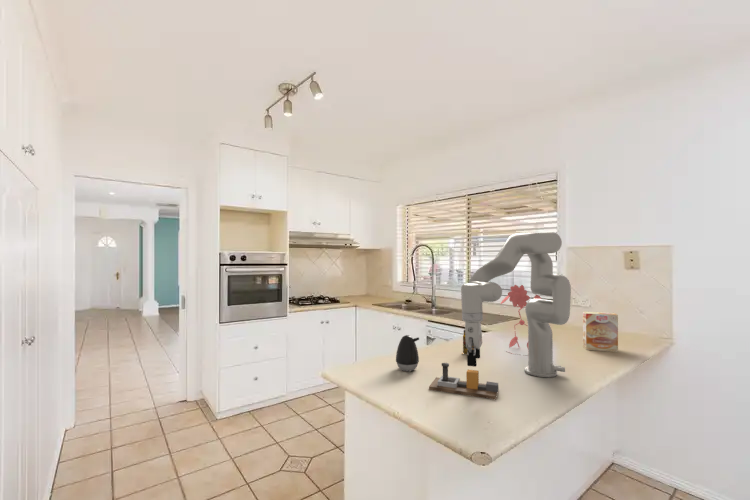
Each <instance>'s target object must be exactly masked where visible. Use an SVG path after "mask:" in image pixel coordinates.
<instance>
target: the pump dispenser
mask: <svg viewBox="0 0 750 500" xmlns="http://www.w3.org/2000/svg"><path fill="white" fill-rule="evenodd" d="M417 341H420V337H415V338H413V337H412V336H411V335H409V334H406V335H404V336H402V337H401V339H400V341H399V342H398V346H397V350H396V355H395V362H396V365H397V367H398V368H399V370H401V371H403V372H412V371H414V370H416V369H417V367H418V364H419V363H420V357H419V351H418V346H417V344H416V342H417Z"/></svg>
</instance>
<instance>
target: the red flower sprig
mask: <svg viewBox="0 0 750 500" xmlns="http://www.w3.org/2000/svg"><path fill="white" fill-rule="evenodd" d="M509 289H510V291H508V292H507V295H506V296H505V297H504V298H503V299H502V300H501V302H500V305H502V304H504V303H505V302H506V301H507V300H508V299H509V302H511V303H512V306H513V307H514V308H519V309H518V316H519V318H520V320H519V322H518V323H515V325H514V327H513V328H514V329H516V326H518V325H521V326H526V327H528V324H526V323H525V321H524V320H523V319H522V316H521V313H520V311H521V310H522V309H523V308H525V307H526V304H527V302H528V301H530V300H531V297H530V296H529V295H528V290H526V289H525V287H524V285H523V284H521V285H520V286H519V285H517V284H514V286H513V285H511V286H510V287H509ZM533 299H542V296H539V295H534V296H533ZM516 334H517V333H516V332H514V337H513V338H511V340H510V341H509V344H508V347H509V348H512V347H514V346H515V345H516V344H517V347H518V348H520V345H519V342H518V340H519V339H518V338H519V337H518V336H516ZM526 347H527V349H528V342H526ZM507 353H509V354H513V355H514V353H513V352H510V351H509V352H508V351H507ZM516 355H519V356H520V354H518V353H516ZM524 356H527V357H528V355H526V354H524Z"/></svg>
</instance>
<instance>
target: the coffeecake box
mask: <svg viewBox="0 0 750 500" xmlns="http://www.w3.org/2000/svg"><path fill="white" fill-rule="evenodd" d="M582 347H583V348H584V349H585V350H586V351H595V352H596V351H599V352H612V353H613V352H614V353H618V352H619V315H618V314H617V313H614V312H603V311H602V312H601V311H599V312H597V311H582Z"/></svg>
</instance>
